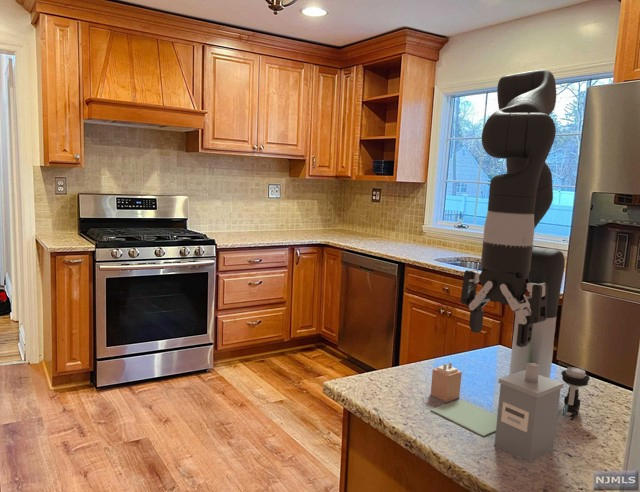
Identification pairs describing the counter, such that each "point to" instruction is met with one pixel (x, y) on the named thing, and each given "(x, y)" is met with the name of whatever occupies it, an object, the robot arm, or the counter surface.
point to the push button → (573, 390)
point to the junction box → (527, 413)
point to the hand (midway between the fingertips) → (498, 338)
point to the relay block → (446, 382)
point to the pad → (468, 416)
